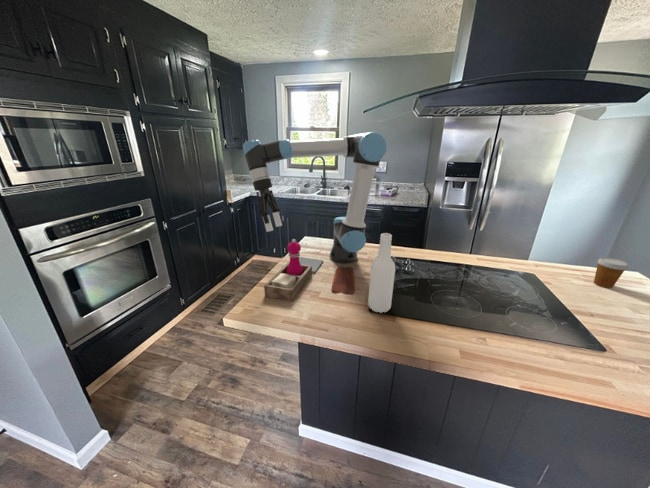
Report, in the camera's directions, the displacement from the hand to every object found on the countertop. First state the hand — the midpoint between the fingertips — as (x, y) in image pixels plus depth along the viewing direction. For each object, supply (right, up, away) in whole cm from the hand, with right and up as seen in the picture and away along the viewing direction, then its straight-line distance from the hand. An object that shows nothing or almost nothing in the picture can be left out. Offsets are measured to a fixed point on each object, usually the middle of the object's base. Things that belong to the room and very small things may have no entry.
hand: (274, 228), depth 115 cm
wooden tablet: (+31, -24, +10) cm, 40 cm away
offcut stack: (+5, -27, -1) cm, 27 cm away
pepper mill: (+8, -23, +9) cm, 26 cm away
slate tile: (+12, -18, +23) cm, 31 cm away
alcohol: (+43, -32, -11) cm, 55 cm away
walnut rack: (+6, -25, +4) cm, 26 cm away
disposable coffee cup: (+150, -26, +7) cm, 152 cm away
